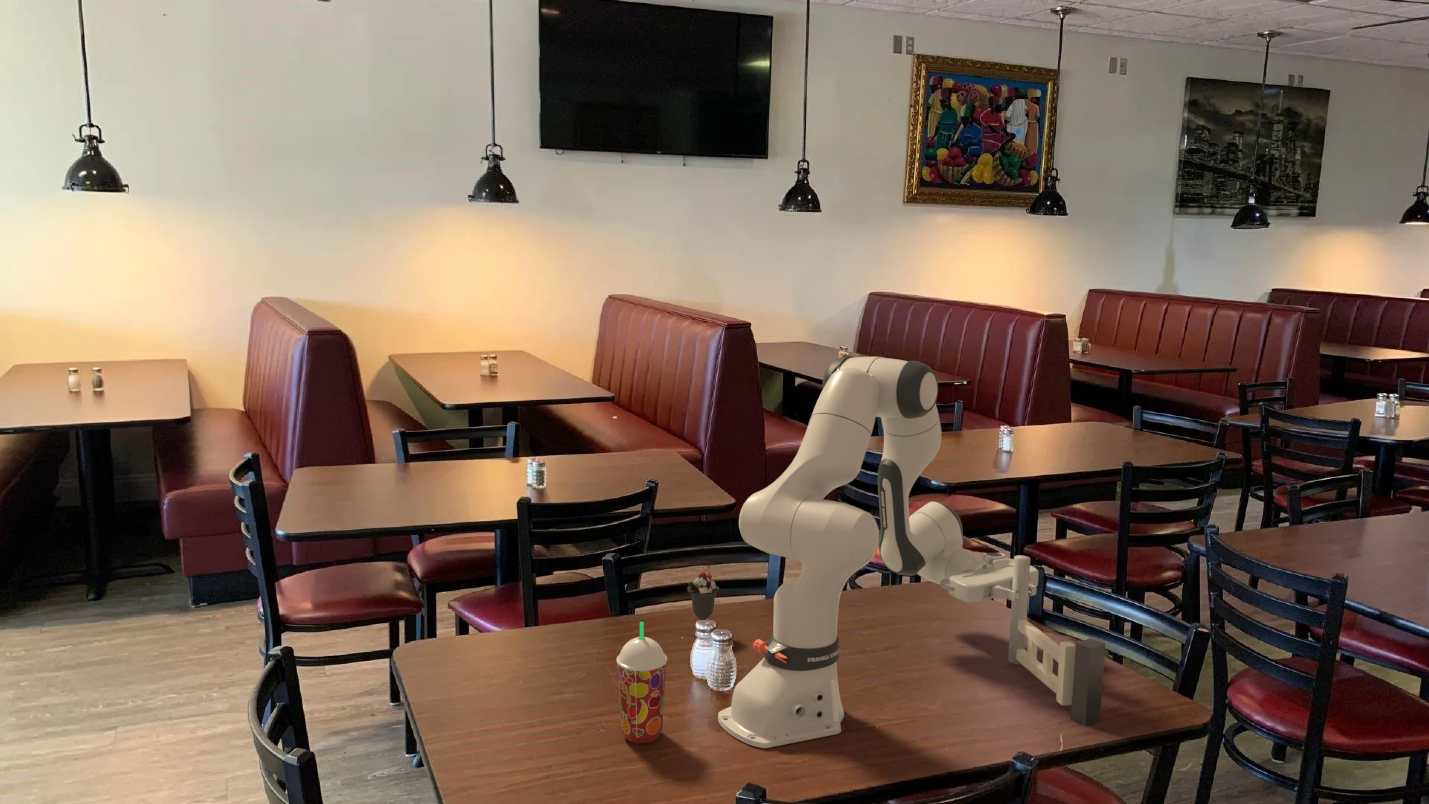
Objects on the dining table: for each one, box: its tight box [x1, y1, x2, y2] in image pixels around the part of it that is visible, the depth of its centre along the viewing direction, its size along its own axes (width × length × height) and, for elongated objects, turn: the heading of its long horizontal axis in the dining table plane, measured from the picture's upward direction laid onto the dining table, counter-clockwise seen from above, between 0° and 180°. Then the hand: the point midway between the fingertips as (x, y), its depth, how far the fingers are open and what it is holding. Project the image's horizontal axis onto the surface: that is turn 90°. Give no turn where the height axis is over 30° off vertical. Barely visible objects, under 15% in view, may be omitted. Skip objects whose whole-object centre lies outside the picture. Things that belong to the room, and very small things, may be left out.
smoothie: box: [615, 621, 668, 744], centre depth 173 cm, size 8×8×20 cm
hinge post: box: [1070, 637, 1106, 727], centre depth 181 cm, size 4×3×14 cm
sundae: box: [686, 563, 720, 638], centre depth 218 cm, size 7×7×15 cm
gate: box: [1008, 554, 1076, 706], centre depth 194 cm, size 21×3×21 cm, turn 10°
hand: (1025, 594), depth 201 cm, fingers open, 3 cm apart
